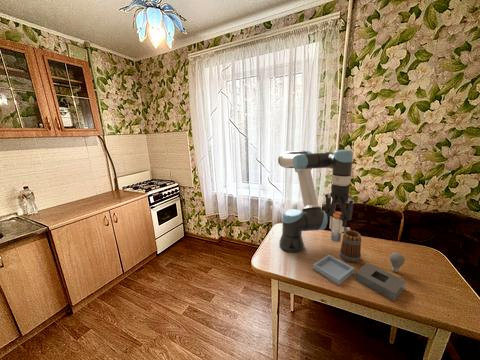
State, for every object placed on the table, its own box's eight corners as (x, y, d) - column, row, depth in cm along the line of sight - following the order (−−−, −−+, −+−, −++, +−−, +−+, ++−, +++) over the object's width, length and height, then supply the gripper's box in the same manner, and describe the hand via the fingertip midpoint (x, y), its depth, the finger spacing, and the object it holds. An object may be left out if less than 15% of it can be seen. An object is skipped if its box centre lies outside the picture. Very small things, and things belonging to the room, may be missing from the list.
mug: (363, 264, 106) (366, 239, 103) (342, 262, 108) (344, 237, 105) (353, 247, 121) (356, 225, 117) (335, 246, 123) (337, 224, 119)
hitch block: (354, 279, 96) (355, 272, 95) (366, 269, 102) (367, 262, 101) (394, 301, 83) (395, 293, 82) (404, 288, 89) (406, 281, 88)
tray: (312, 269, 104) (312, 264, 103) (328, 259, 111) (328, 254, 110) (338, 285, 92) (338, 280, 92) (353, 273, 100) (354, 268, 99)
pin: (333, 236, 100) (336, 210, 97) (342, 240, 97) (344, 213, 93) (328, 239, 98) (330, 212, 95) (337, 242, 94) (339, 215, 91)
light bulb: (400, 268, 102) (403, 251, 99) (404, 276, 96) (407, 258, 94) (386, 266, 104) (388, 249, 102) (389, 273, 99) (392, 255, 96)
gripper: (318, 181, 96) (316, 225, 101) (356, 189, 82) (350, 240, 87) (327, 179, 100) (324, 221, 105) (364, 186, 86) (359, 234, 91)
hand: (336, 229), depth 96 cm, fingers closed on pin, 4 cm apart
